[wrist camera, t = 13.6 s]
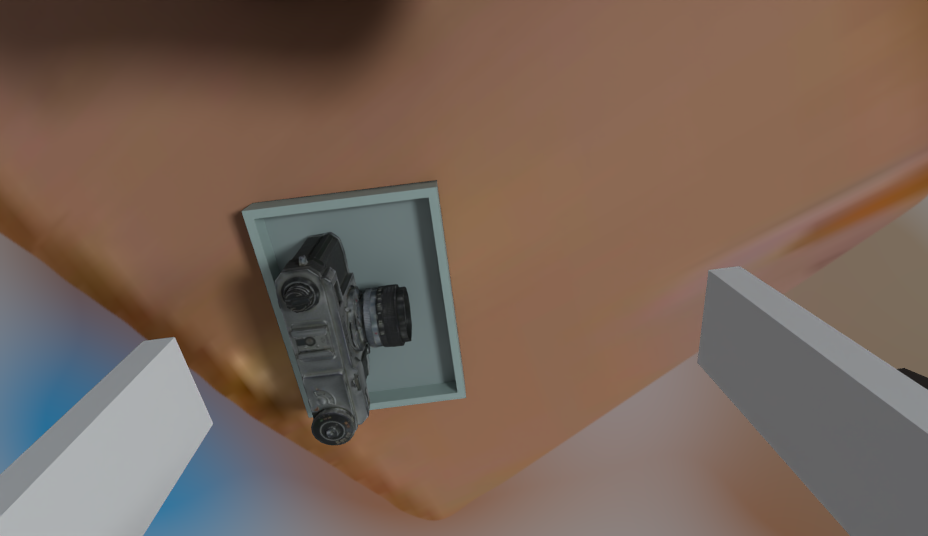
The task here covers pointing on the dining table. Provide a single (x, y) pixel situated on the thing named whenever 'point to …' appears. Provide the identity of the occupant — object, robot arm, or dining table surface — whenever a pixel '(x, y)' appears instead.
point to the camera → (337, 332)
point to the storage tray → (377, 278)
